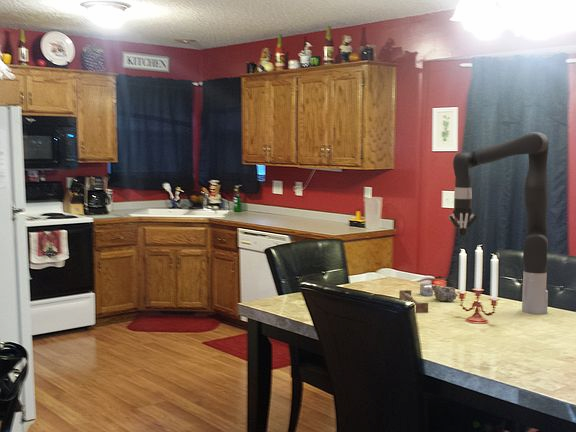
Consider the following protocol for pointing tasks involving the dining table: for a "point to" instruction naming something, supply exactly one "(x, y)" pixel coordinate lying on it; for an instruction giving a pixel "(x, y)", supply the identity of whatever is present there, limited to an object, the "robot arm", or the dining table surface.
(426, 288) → the tin
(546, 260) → the robot arm
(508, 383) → the dining table surface
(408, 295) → the stand
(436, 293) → the rock
